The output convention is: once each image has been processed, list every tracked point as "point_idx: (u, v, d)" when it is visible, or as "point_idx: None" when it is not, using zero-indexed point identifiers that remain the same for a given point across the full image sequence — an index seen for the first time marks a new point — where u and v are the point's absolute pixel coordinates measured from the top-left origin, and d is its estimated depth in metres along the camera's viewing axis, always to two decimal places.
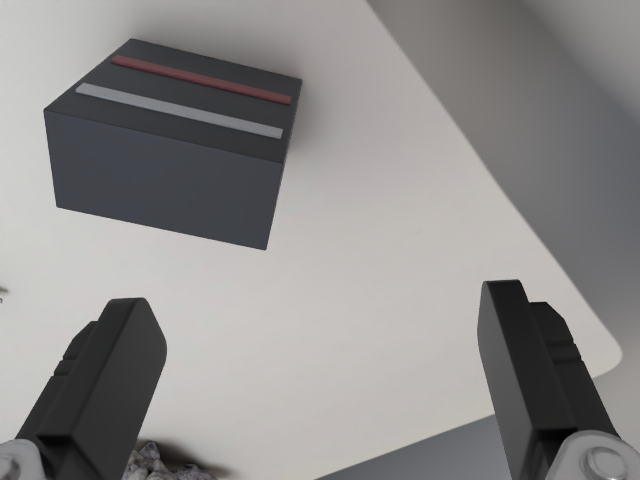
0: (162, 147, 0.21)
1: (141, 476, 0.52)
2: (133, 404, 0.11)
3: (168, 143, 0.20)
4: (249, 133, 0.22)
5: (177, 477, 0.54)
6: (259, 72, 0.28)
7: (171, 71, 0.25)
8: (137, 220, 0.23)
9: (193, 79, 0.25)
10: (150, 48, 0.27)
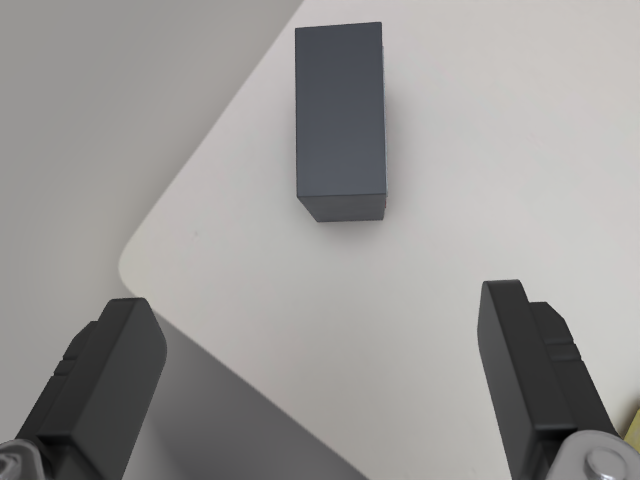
0: (304, 112, 0.28)
1: None
2: (133, 403, 0.11)
3: (300, 108, 0.28)
4: None
5: None
6: None
7: None
8: (380, 127, 0.27)
9: None
10: None
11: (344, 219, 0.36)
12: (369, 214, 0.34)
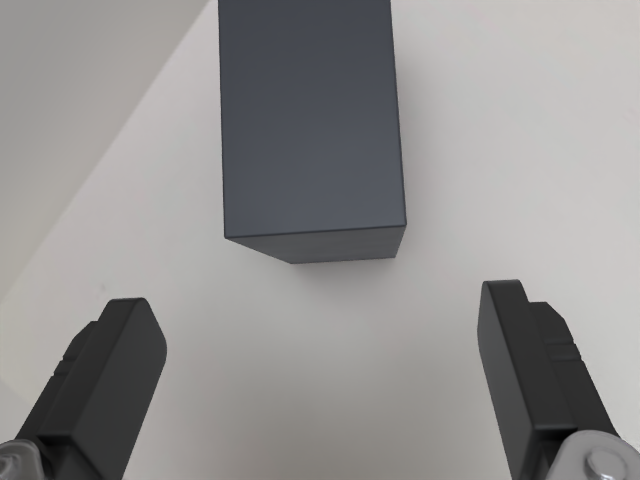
0: (236, 69, 0.14)
1: None
2: (133, 404, 0.11)
3: (227, 62, 0.14)
4: None
5: None
6: None
7: None
8: (387, 90, 0.13)
9: None
10: None
11: (332, 259, 0.22)
12: (373, 253, 0.20)
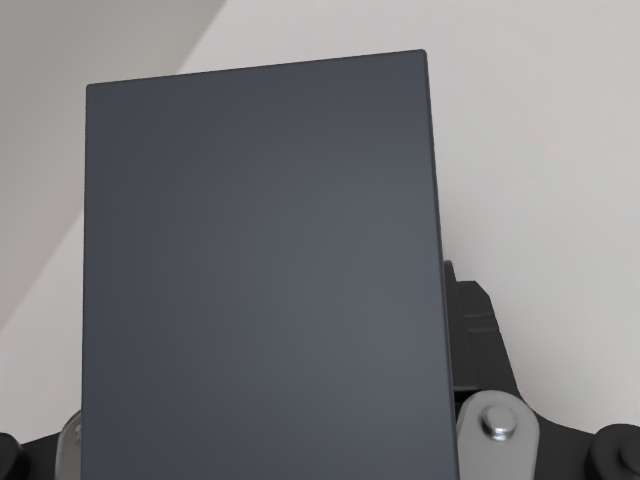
0: (114, 442, 0.07)
1: None
2: None
3: (97, 424, 0.07)
4: None
5: None
6: None
7: None
8: None
9: None
10: None
11: None
12: None
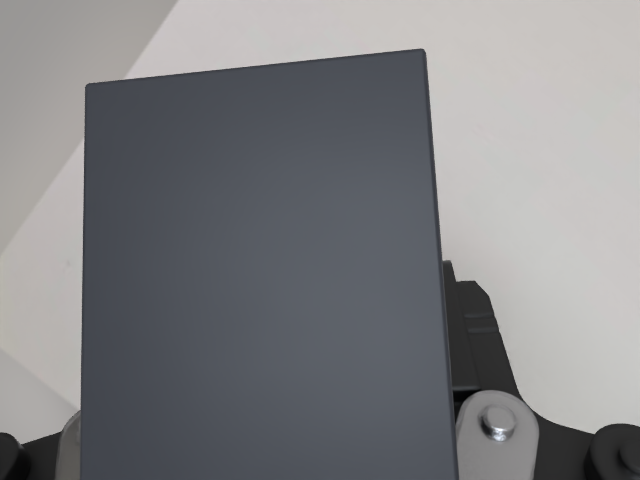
0: (113, 442, 0.07)
1: None
2: None
3: (96, 423, 0.07)
4: None
5: None
6: None
7: None
8: None
9: None
10: None
11: None
12: None
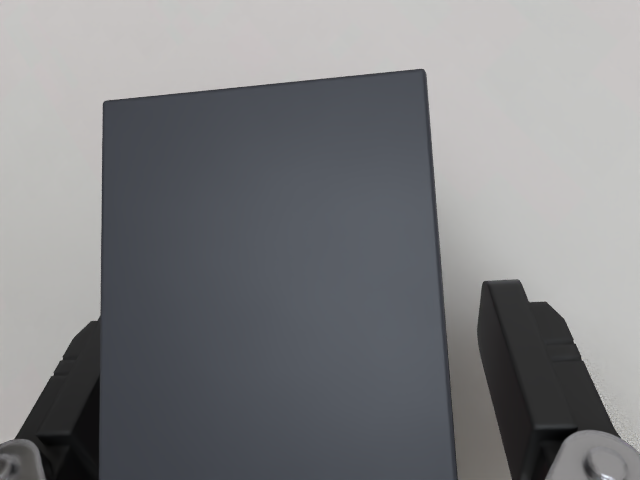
0: (130, 441, 0.07)
1: None
2: None
3: (115, 423, 0.07)
4: None
5: None
6: None
7: None
8: None
9: None
10: None
11: None
12: None
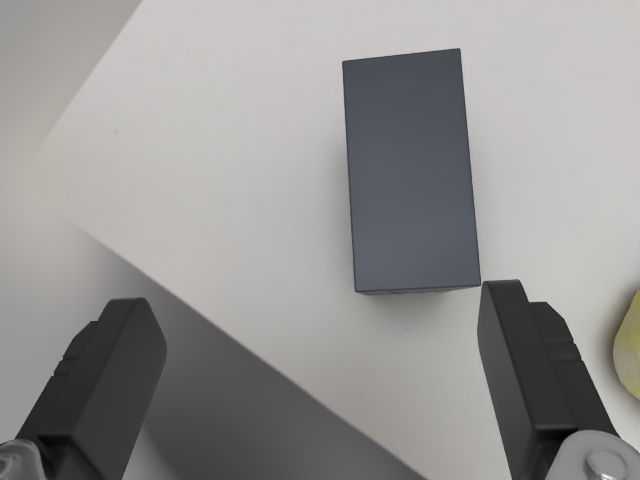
0: (360, 174, 0.20)
1: None
2: (133, 403, 0.11)
3: (354, 169, 0.20)
4: None
5: None
6: None
7: None
8: (466, 192, 0.20)
9: None
10: None
11: None
12: None
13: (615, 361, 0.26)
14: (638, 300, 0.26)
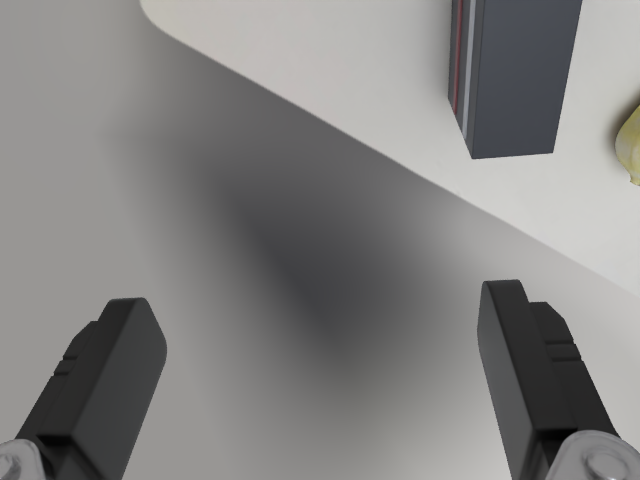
0: (486, 84, 0.28)
1: None
2: (134, 403, 0.11)
3: (482, 80, 0.28)
4: (475, 15, 0.28)
5: None
6: None
7: (455, 73, 0.34)
8: (560, 95, 0.28)
9: (457, 57, 0.33)
10: (450, 85, 0.38)
11: None
12: None
13: (617, 143, 0.39)
14: None
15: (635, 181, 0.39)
